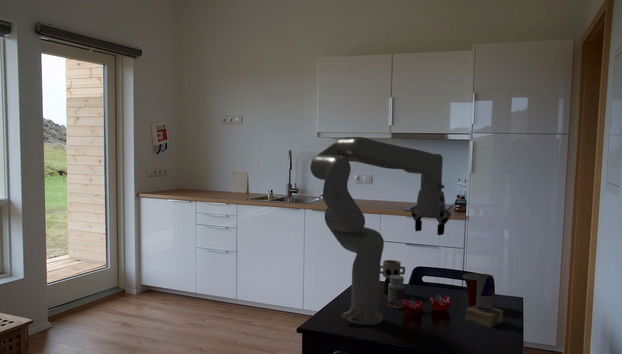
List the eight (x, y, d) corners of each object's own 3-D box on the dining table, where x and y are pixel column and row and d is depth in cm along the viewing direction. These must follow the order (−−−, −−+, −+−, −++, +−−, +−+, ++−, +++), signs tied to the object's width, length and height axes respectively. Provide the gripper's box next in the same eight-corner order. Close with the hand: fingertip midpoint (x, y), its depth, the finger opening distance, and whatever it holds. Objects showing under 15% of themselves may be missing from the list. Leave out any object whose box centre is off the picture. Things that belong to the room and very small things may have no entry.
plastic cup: (471, 300, 190) (472, 270, 189) (496, 307, 181) (498, 276, 181) (456, 305, 182) (457, 274, 182) (482, 312, 174) (483, 280, 174)
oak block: (489, 327, 159) (490, 315, 159) (465, 320, 166) (465, 308, 166) (502, 321, 165) (503, 310, 165) (478, 314, 172) (479, 303, 172)
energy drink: (493, 312, 162) (495, 278, 162) (477, 311, 163) (478, 276, 163) (490, 307, 168) (492, 274, 167) (474, 306, 169) (476, 273, 168)
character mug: (378, 295, 193) (379, 263, 192) (376, 289, 200) (377, 259, 199) (405, 296, 192) (406, 264, 192) (403, 291, 199) (404, 260, 199)
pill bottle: (405, 305, 181) (406, 275, 180) (402, 310, 175) (403, 279, 175) (389, 302, 183) (390, 273, 183) (385, 307, 178) (386, 277, 177)
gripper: (457, 188, 172) (455, 235, 173) (417, 185, 185) (415, 228, 186) (445, 189, 167) (443, 237, 168) (405, 185, 180) (404, 230, 181)
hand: (429, 232), depth 177 cm, fingers open, 9 cm apart
